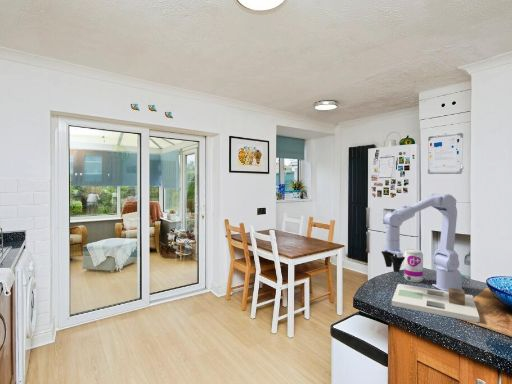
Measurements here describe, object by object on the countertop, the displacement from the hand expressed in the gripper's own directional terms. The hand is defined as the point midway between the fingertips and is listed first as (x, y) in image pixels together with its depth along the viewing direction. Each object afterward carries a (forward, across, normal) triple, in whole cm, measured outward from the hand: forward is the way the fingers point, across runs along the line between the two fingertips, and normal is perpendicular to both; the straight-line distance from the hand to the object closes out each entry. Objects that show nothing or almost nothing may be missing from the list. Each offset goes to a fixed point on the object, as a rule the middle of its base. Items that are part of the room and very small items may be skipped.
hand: (392, 269), depth 131 cm
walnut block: (+8, +17, +17) cm, 26 cm away
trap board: (+10, +14, +11) cm, 20 cm away
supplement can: (+10, -15, +17) cm, 25 cm away
